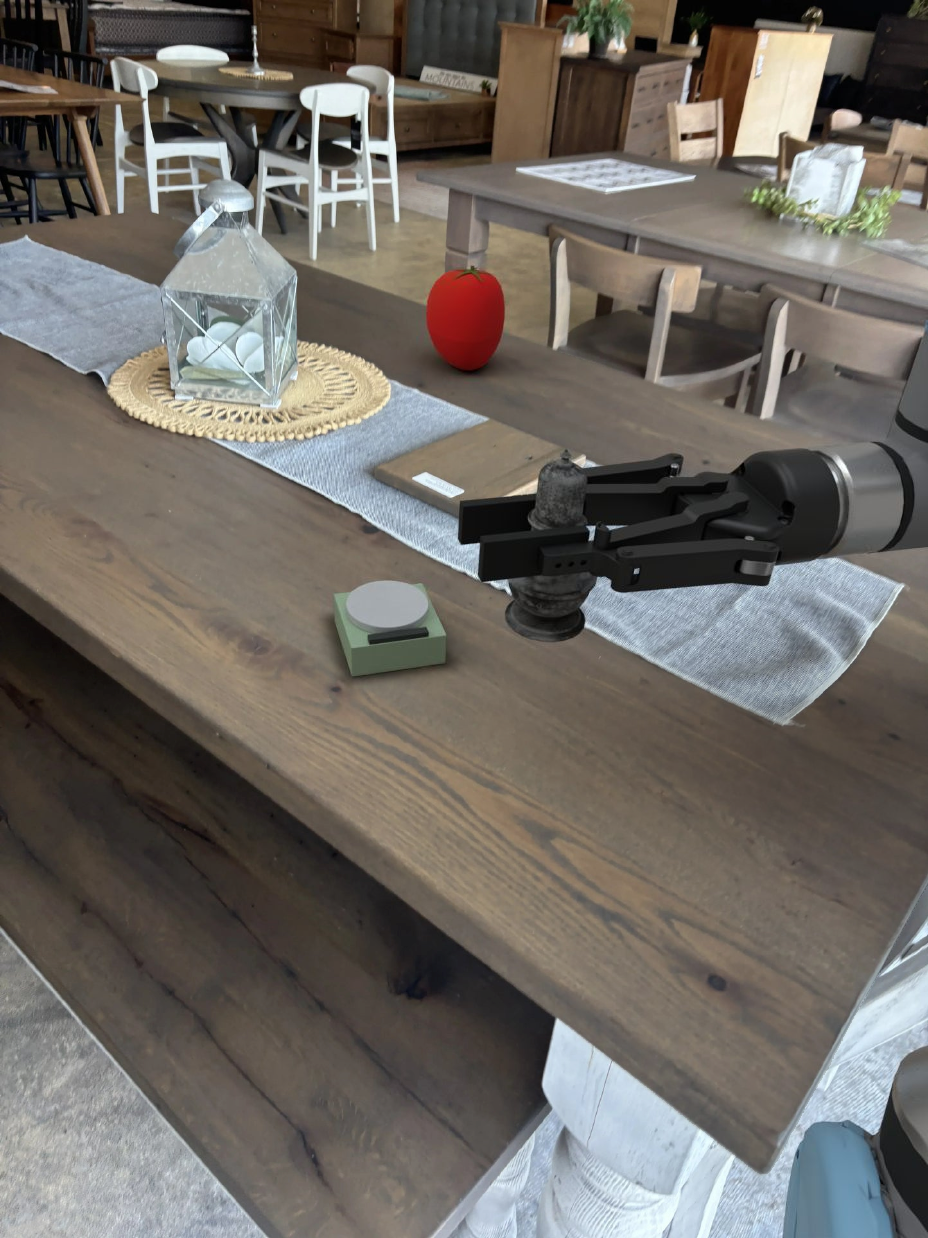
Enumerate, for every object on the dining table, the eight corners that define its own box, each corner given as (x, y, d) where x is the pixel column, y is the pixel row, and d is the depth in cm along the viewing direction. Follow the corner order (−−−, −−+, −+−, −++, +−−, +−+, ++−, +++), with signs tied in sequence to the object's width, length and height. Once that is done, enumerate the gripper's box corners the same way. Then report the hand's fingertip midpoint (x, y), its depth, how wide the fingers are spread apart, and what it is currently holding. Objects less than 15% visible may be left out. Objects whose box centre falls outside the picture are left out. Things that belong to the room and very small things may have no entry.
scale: (445, 663, 77) (447, 627, 75) (351, 677, 75) (351, 640, 72) (421, 610, 83) (422, 575, 81) (334, 621, 81) (333, 585, 79)
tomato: (505, 381, 130) (513, 279, 122) (426, 379, 129) (429, 276, 121) (495, 350, 140) (502, 255, 132) (422, 349, 139) (425, 252, 131)
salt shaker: (575, 655, 56) (602, 481, 49) (486, 629, 58) (500, 458, 51) (600, 606, 61) (628, 440, 54) (517, 584, 62) (534, 420, 55)
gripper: (868, 622, 56) (509, 676, 50) (731, 496, 69) (432, 526, 63) (910, 516, 52) (521, 560, 45) (755, 402, 64) (436, 424, 58)
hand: (471, 540), depth 54 cm, fingers closed on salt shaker, 4 cm apart
